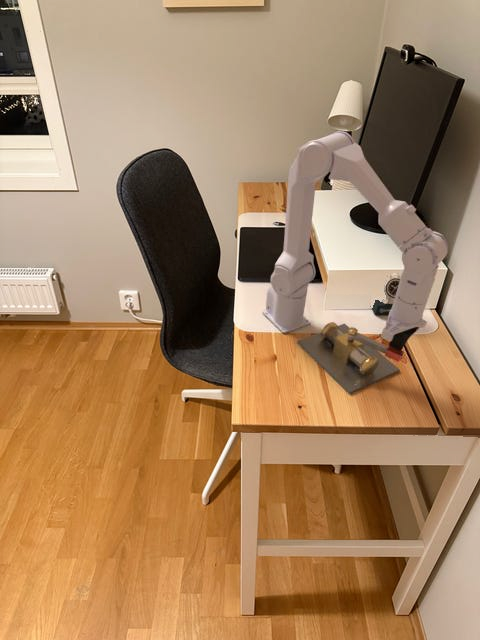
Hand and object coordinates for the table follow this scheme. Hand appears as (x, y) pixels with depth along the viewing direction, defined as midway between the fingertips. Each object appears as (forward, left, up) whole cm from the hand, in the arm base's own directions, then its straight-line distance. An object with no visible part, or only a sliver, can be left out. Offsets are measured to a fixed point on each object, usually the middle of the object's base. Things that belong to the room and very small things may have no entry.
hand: (394, 350), depth 93 cm
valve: (-8, -5, -6) cm, 11 cm away
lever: (-3, -3, -1) cm, 4 cm away
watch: (-17, +15, -6) cm, 23 cm away
